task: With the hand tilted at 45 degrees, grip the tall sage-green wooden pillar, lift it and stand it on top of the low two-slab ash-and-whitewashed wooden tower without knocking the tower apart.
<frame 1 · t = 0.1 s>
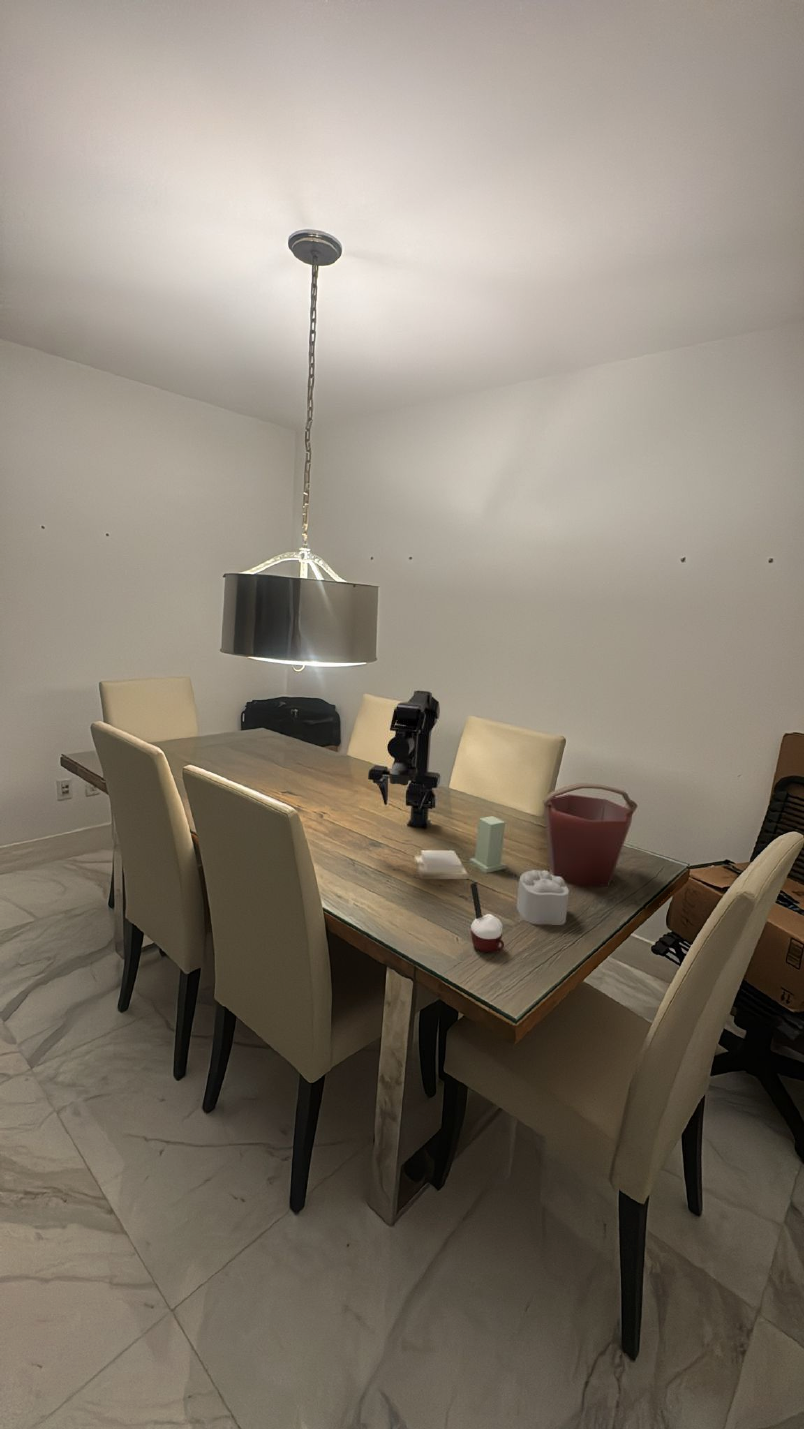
hand: (402, 807, 163), 15 cm above the table, tool pointing down, fingers open, 9 cm apart
sage pillar: (487, 865, 164), on the table
cocoa: (484, 947, 124), on the table
white paw print block: (539, 911, 141), on the table
bucket: (581, 874, 163), on the table
whitewashed top slab: (440, 864, 160), point 1 cm above the table, touching ash base slab
ash base slab: (439, 871, 160), on the table, touching whitewashed top slab
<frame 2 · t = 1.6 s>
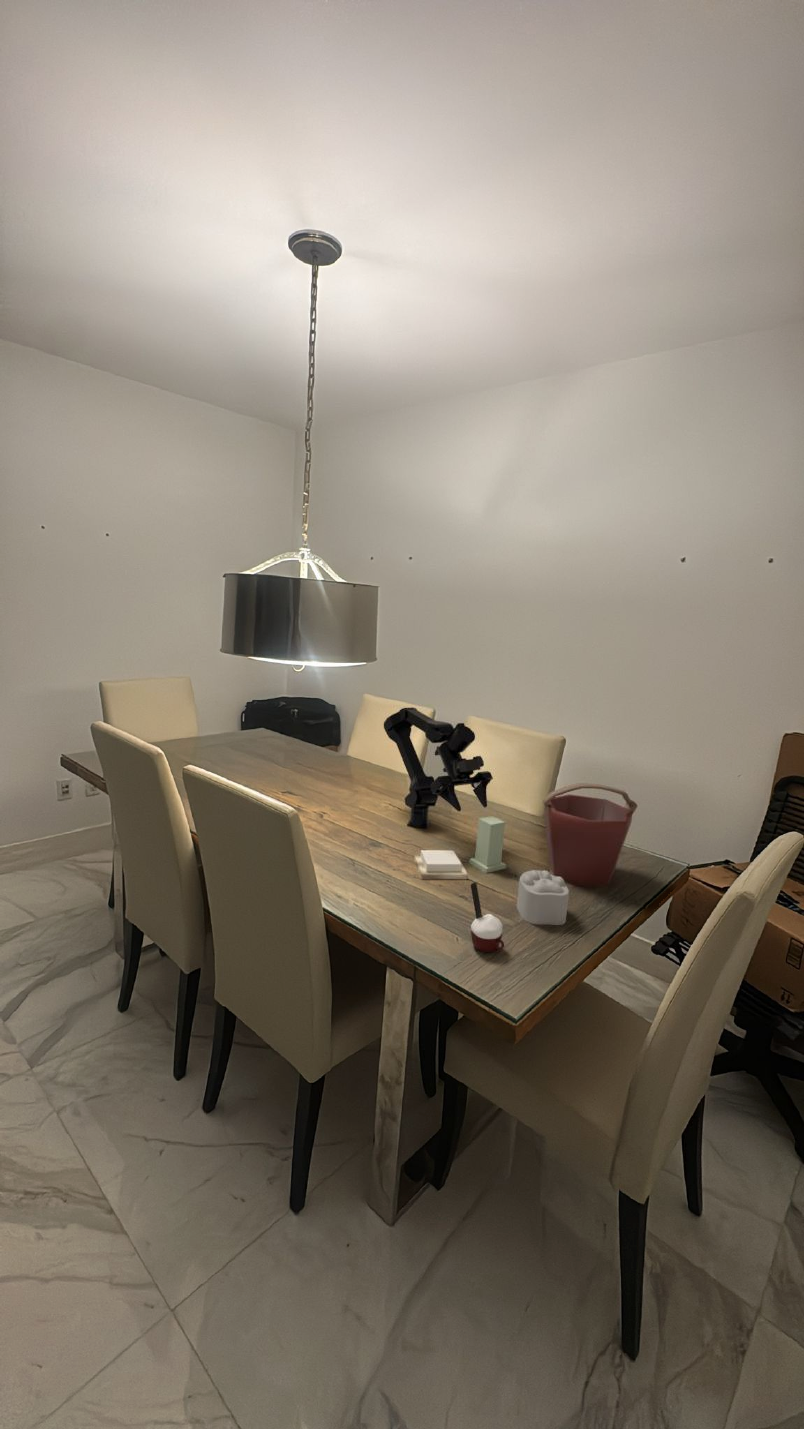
hand: (473, 808, 169), 14 cm above the table, tool tilted 45°, fingers open, 9 cm apart
whitewashed top slab: (439, 864, 160), point 1 cm above the table
ash base slab: (439, 871, 160), on the table
everything else where it was.
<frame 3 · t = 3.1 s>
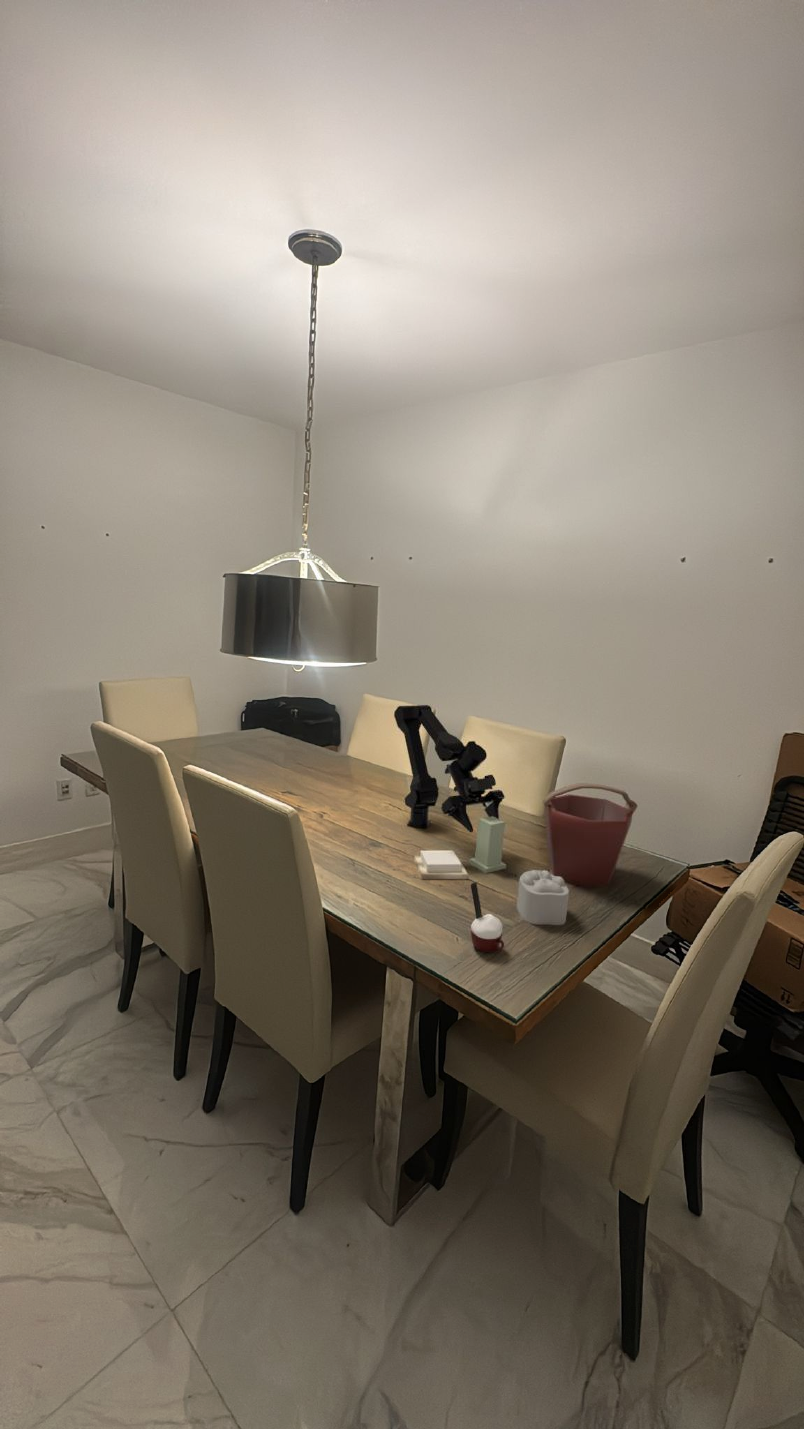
hand: (485, 829, 165), 10 cm above the table, tool tilted 45°, fingers open, 9 cm apart
whitewashed top slab: (440, 864, 160), point 1 cm above the table, touching ash base slab
ash base slab: (439, 871, 160), on the table, touching whitewashed top slab
everything else where it was.
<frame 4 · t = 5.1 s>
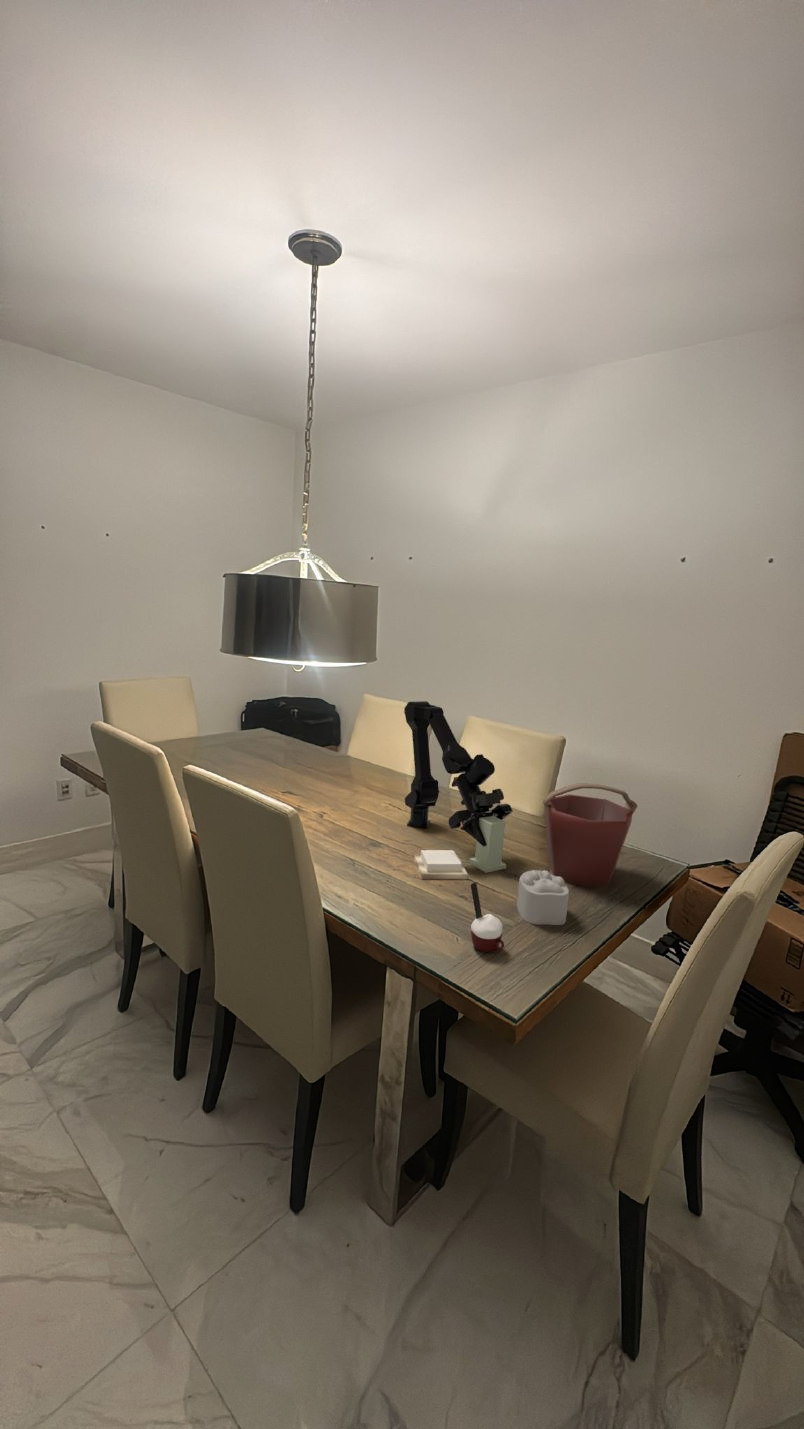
hand: (493, 844, 162), 7 cm above the table, tool tilted 45°, fingers closed on sage pillar, 5 cm apart
sage pillar: (487, 865, 164), on the table, touching gripper
everything else where it was.
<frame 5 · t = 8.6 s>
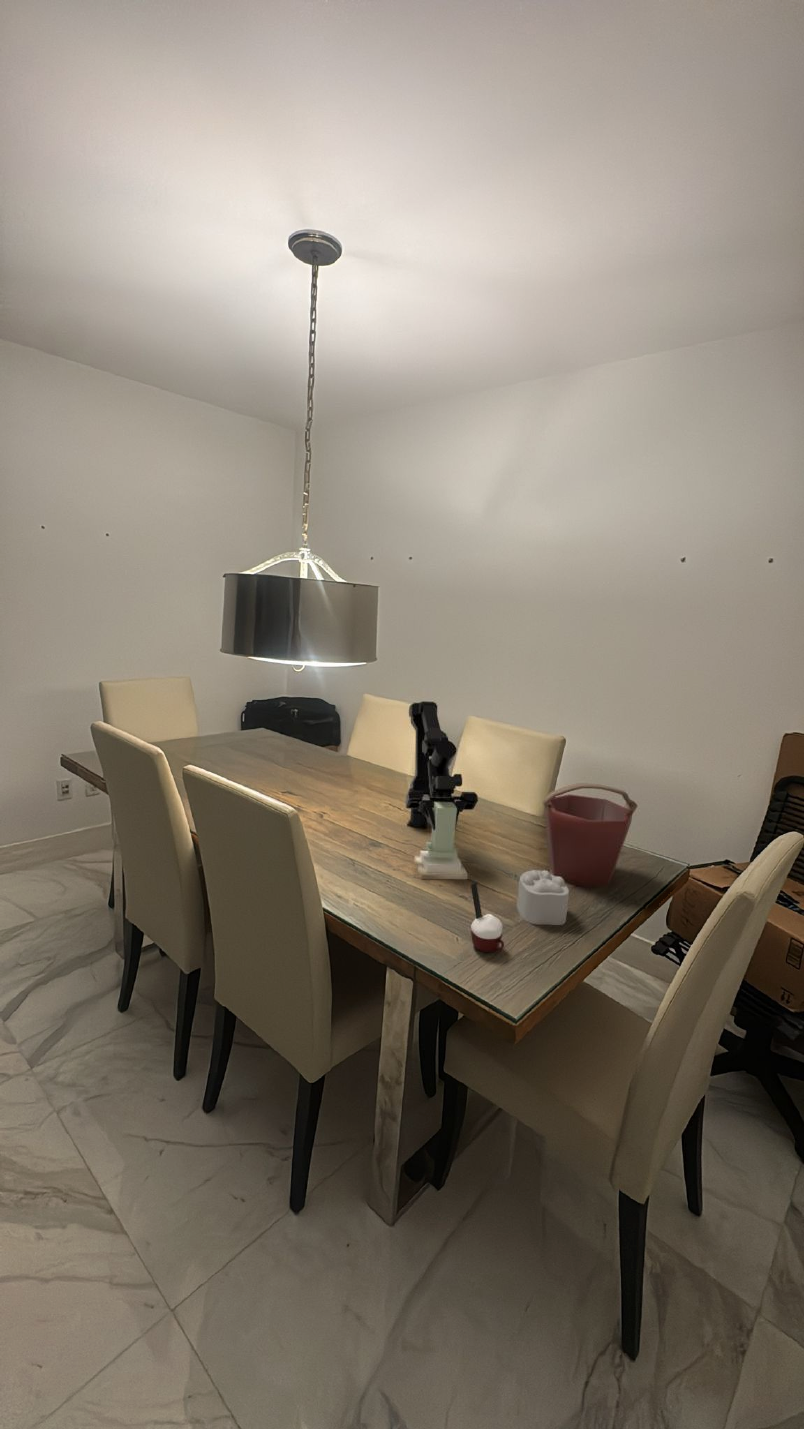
hand: (444, 829, 157), 11 cm above the table, tool tilted 45°, fingers closed on sage pillar, 5 cm apart
sage pillar: (441, 851, 160), point 5 cm above the table, touching gripper
everything else where it was.
when the fingers open (11 cm above the table, at t = 8.7 s): sage pillar drops 2 cm, point 3 cm above the table.
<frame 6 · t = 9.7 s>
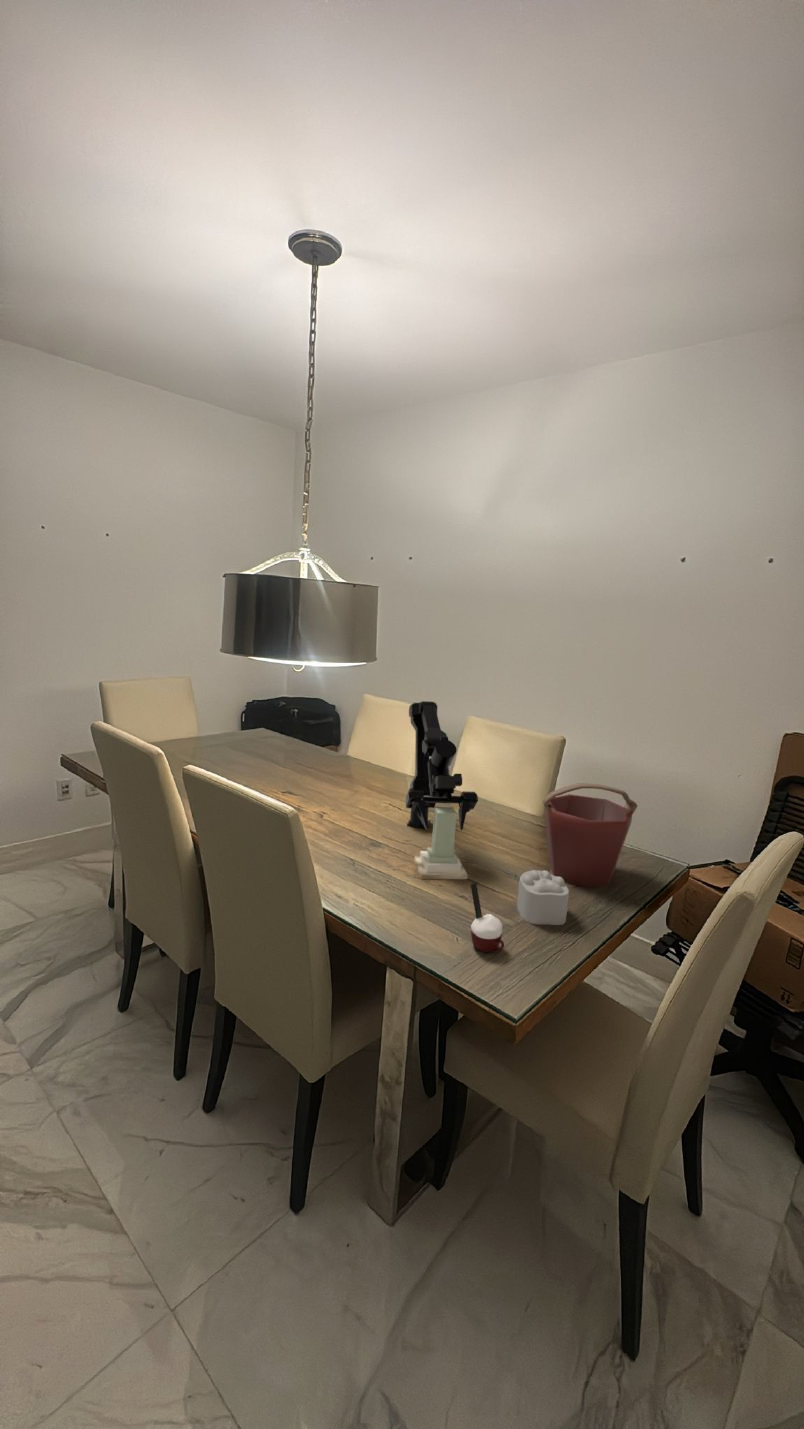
hand: (444, 829, 157), 12 cm above the table, tool tilted 45°, fingers open, 9 cm apart
sage pillar: (441, 857, 160), point 3 cm above the table
everything else where it was.
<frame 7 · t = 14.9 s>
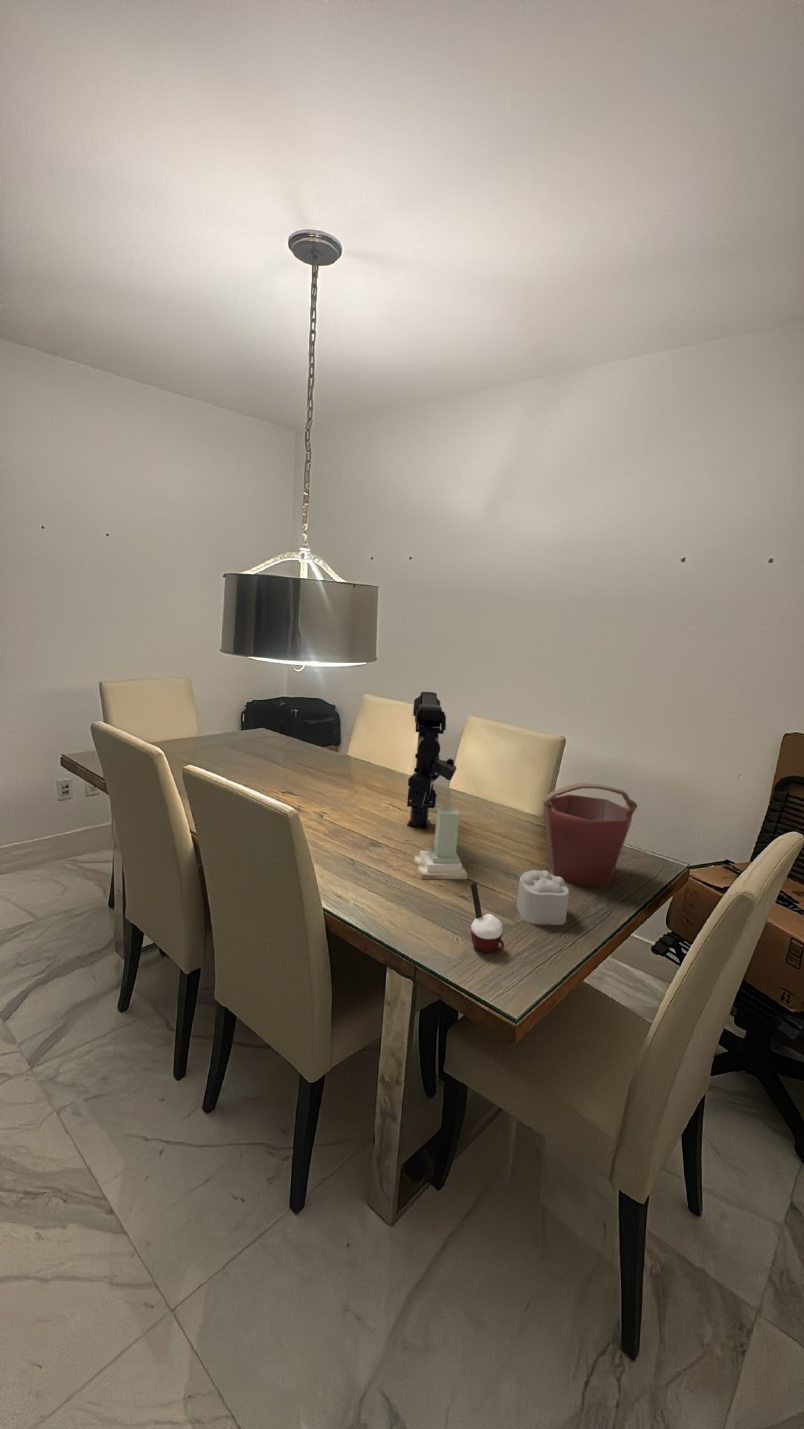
hand: (423, 803, 172), 13 cm above the table, tool pointing down, fingers open, 9 cm apart
whitewashed top slab: (439, 864, 160), point 1 cm above the table
ash base slab: (439, 871, 160), on the table
everything else where it was.
at the end: sage pillar 0.7 cm off-centre on the whitewashed top slab, point 2.2 cm above the whitewashed top slab's base; sage pillar tilted 1°; whitewashed top slab moved 0.9 cm from its start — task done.
